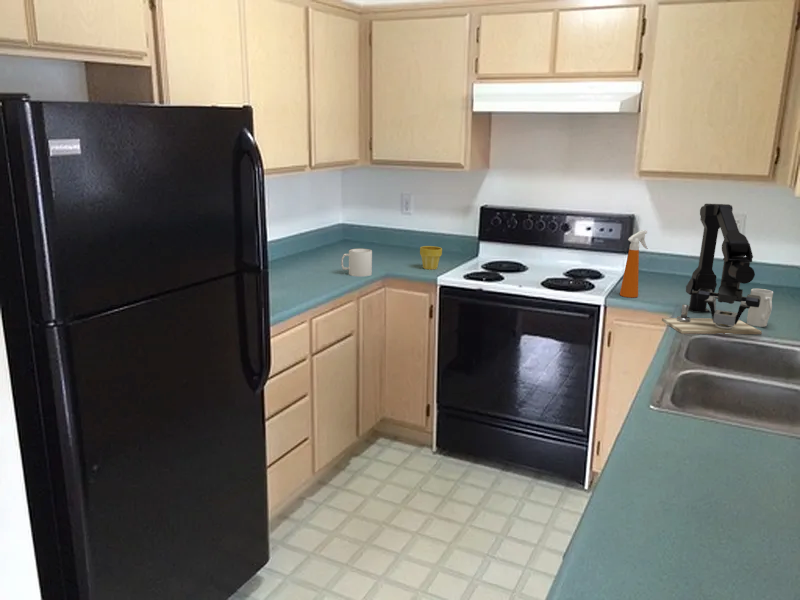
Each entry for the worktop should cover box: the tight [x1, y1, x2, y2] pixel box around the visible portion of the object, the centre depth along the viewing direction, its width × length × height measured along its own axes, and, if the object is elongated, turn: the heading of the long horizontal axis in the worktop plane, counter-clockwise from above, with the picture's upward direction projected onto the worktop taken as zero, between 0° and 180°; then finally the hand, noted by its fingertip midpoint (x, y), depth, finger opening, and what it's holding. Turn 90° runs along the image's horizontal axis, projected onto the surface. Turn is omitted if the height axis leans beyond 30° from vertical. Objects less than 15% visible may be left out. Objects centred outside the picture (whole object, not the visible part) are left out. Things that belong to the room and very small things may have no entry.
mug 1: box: [340, 248, 373, 277], centre depth 292 cm, size 14×10×11 cm
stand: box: [676, 304, 692, 322], centre depth 227 cm, size 4×4×6 cm
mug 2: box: [746, 288, 774, 328], centre depth 225 cm, size 10×7×12 cm, turn 1°
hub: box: [715, 314, 733, 330], centre depth 219 cm, size 5×5×4 cm
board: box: [661, 317, 762, 335], centre depth 223 cm, size 15×27×1 cm, turn 93°
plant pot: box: [419, 245, 443, 270], centre depth 308 cm, size 10×10×10 cm
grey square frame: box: [713, 309, 738, 326], centre depth 219 cm, size 6×6×3 cm
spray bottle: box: [619, 229, 649, 299], centre depth 263 cm, size 7×11×26 cm, turn 117°
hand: (724, 322), depth 220 cm, fingers closed on grey square frame, 6 cm apart
